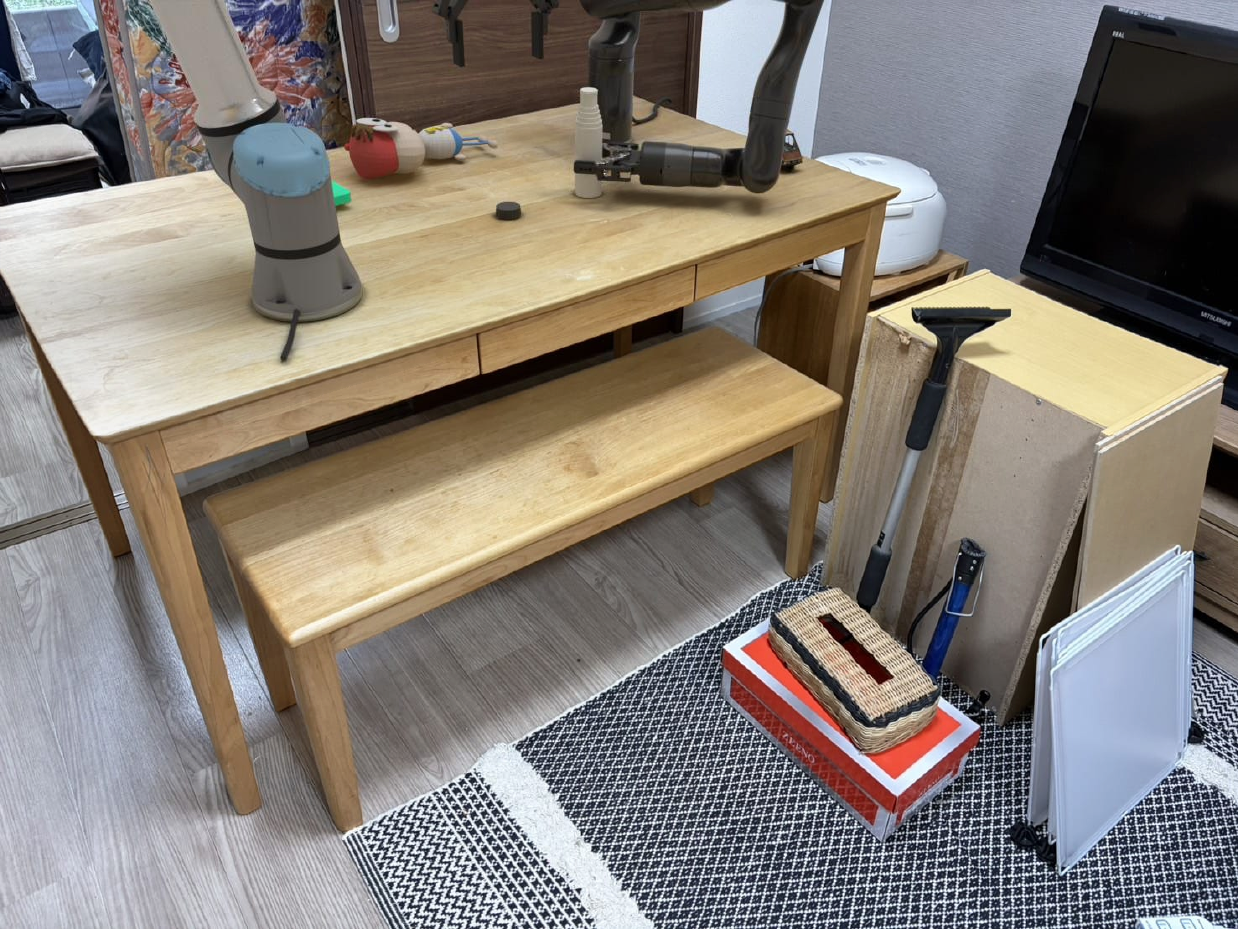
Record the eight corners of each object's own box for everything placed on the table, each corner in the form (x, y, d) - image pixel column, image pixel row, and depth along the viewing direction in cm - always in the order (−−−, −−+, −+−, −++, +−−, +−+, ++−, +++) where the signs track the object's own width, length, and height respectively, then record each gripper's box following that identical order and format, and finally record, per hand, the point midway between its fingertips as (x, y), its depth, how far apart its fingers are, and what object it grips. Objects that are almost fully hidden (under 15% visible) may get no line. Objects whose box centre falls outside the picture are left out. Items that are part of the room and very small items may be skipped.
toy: (513, 124, 177) (360, 128, 162) (513, 178, 182) (363, 187, 167) (473, 109, 190) (327, 111, 175) (473, 159, 195) (331, 166, 180)
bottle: (582, 199, 168) (583, 94, 157) (570, 191, 172) (569, 87, 161) (606, 195, 170) (608, 91, 159) (593, 186, 174) (594, 84, 163)
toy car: (763, 152, 192) (768, 117, 188) (807, 168, 184) (812, 133, 180) (742, 157, 188) (745, 123, 184) (785, 174, 181) (790, 139, 177)
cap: (526, 214, 162) (525, 205, 161) (510, 222, 159) (509, 212, 158) (507, 208, 164) (507, 199, 163) (491, 216, 161) (490, 206, 160)
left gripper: (421, -91, 126) (433, 74, 138) (581, -94, 137) (579, 59, 149) (401, -97, 131) (415, 62, 143) (557, -100, 142) (557, 49, 154)
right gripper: (671, 131, 170) (583, 125, 171) (665, 156, 158) (571, 150, 160) (669, 171, 174) (583, 166, 175) (662, 199, 163) (571, 193, 164)
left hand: (499, 61), depth 146 cm, fingers open, 13 cm apart
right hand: (577, 158), depth 167 cm, fingers open, 8 cm apart
